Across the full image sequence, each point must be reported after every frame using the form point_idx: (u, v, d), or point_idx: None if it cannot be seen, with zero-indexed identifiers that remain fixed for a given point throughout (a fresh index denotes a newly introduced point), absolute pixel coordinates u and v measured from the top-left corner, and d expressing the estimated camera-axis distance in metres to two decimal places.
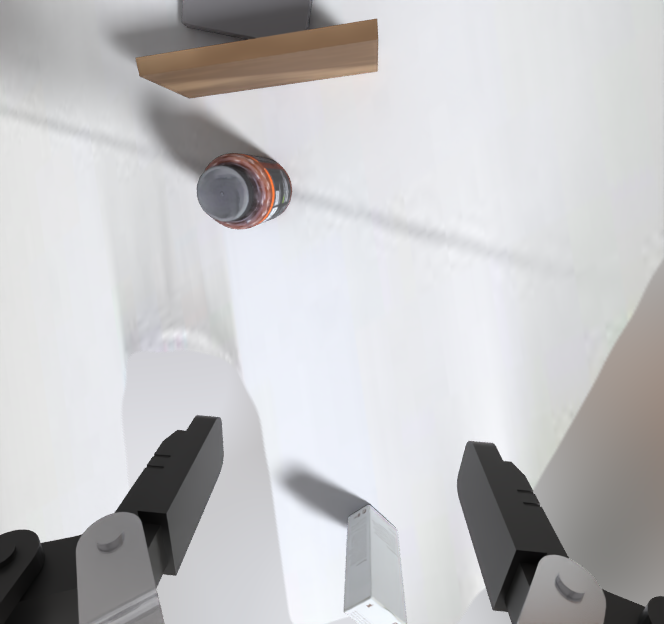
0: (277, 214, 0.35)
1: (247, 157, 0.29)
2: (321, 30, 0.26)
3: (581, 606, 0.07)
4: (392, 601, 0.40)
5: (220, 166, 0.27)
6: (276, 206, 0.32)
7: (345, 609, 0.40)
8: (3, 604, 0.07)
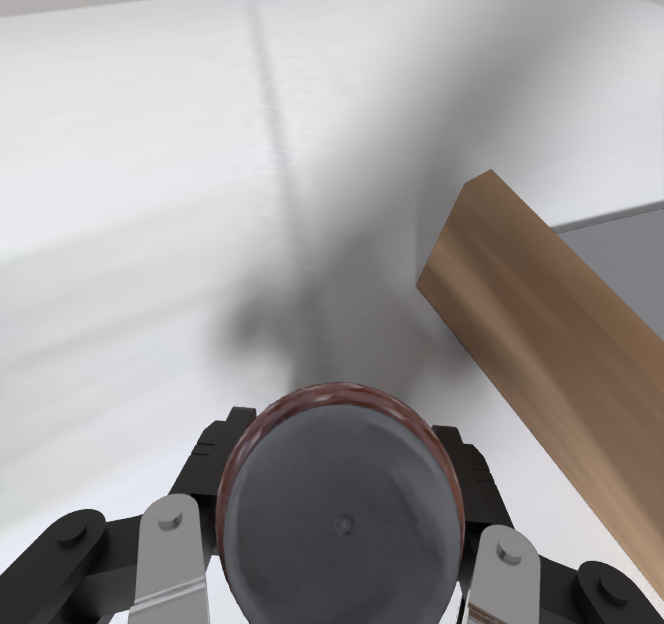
0: None
1: (462, 503, 0.09)
2: None
3: (516, 569, 0.08)
4: None
5: (441, 473, 0.06)
6: None
7: None
8: (68, 580, 0.07)
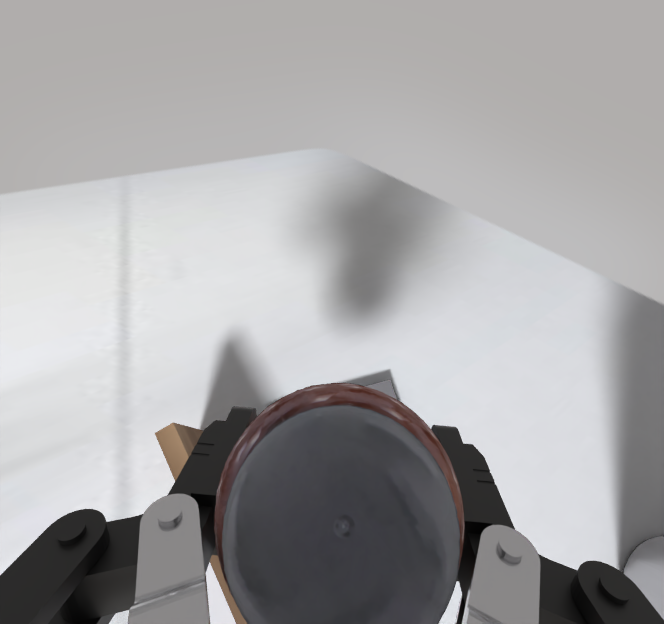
0: None
1: None
2: None
3: (516, 569, 0.08)
4: None
5: (440, 474, 0.06)
6: None
7: None
8: (69, 579, 0.07)
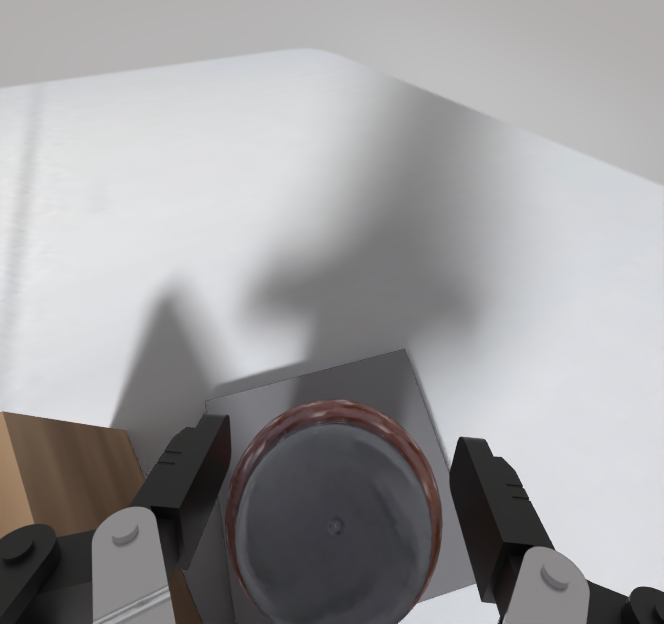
0: None
1: (440, 506, 0.10)
2: None
3: (565, 596, 0.07)
4: None
5: (417, 482, 0.08)
6: None
7: None
8: (20, 597, 0.07)
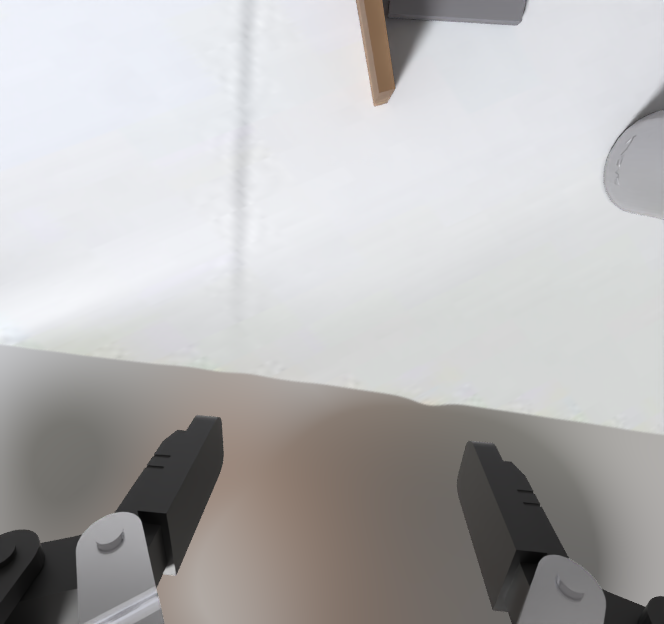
0: None
1: None
2: (383, 26, 0.26)
3: (581, 606, 0.07)
4: None
5: None
6: None
7: None
8: (4, 603, 0.07)
